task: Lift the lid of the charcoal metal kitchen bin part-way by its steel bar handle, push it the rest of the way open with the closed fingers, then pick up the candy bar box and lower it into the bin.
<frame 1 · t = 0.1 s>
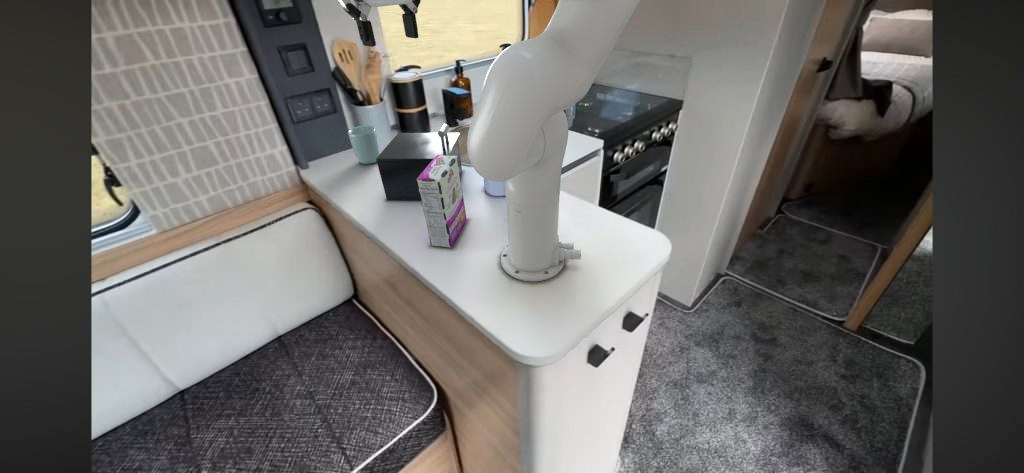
hand: (391, 41, 70), 37 cm above the worktop, tool pointing down, fingers open, 9 cm apart
bin lid: (419, 137, 94), point 14 cm above the worktop, hinge at 0.0°
cup: (370, 161, 116), on the worktop
bin: (426, 185, 102), on the worktop
candy bar box: (449, 233, 84), on the worktop
soap bottle: (500, 189, 99), on the worktop
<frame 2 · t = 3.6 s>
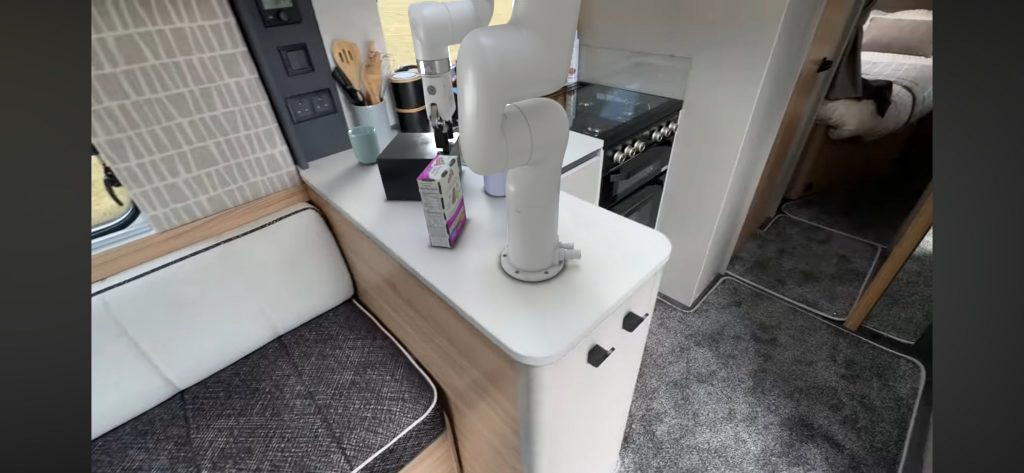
hand: (445, 142, 95), 12 cm above the worktop, tool pointing down, fingers closed on bin lid, 5 cm apart
bin lid: (419, 137, 94), point 14 cm above the worktop, hinge at 0.0°, touching gripper
everything else where it was.
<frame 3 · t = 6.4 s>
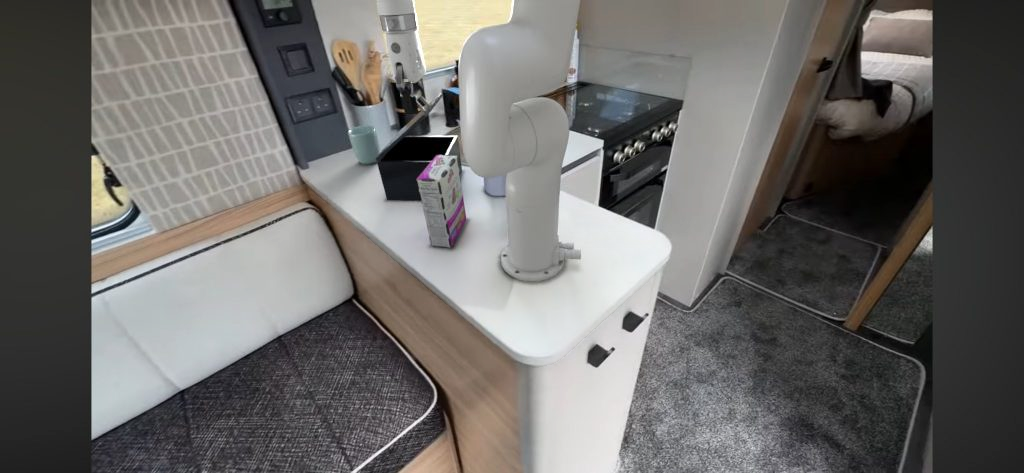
hand: (415, 109, 90), 21 cm above the worktop, tool pointing down, fingers closed on bin lid, 5 cm apart
bin lid: (403, 118, 92), point 18 cm above the worktop, hinge at 37.4°, touching gripper
everything else where it was.
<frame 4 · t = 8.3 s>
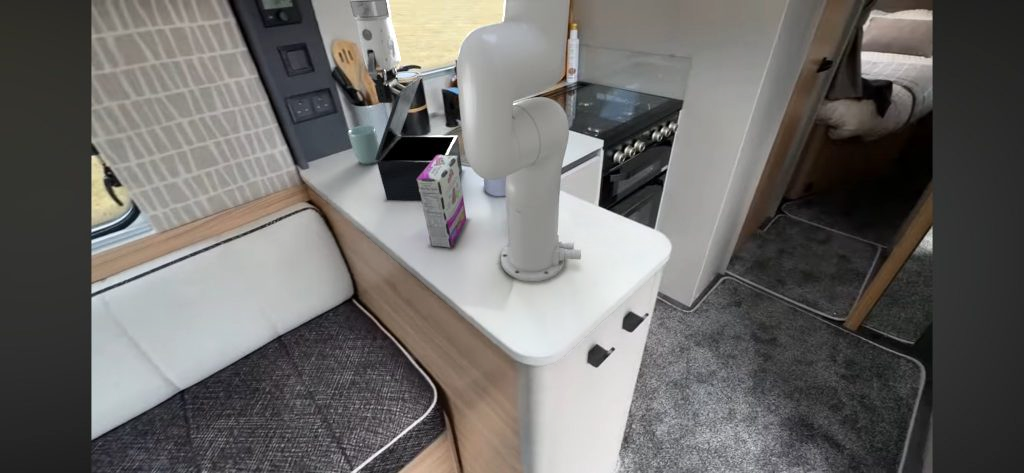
hand: (389, 97, 89), 23 cm above the worktop, tool pointing down, fingers closed on bin lid, 5 cm apart
bin lid: (389, 112, 91), point 20 cm above the worktop, hinge at 59.6°, touching gripper
everything else where it was.
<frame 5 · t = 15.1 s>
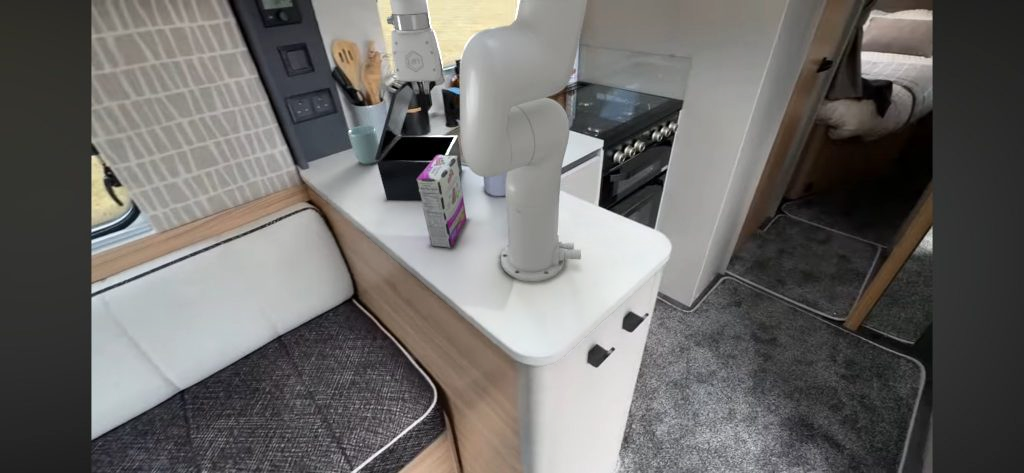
hand: (426, 109, 90), 21 cm above the worktop, tool pointing down, fingers closed
bin lid: (387, 112, 91), point 20 cm above the worktop, hinge at 62.3°, touching gripper
everything else where it was.
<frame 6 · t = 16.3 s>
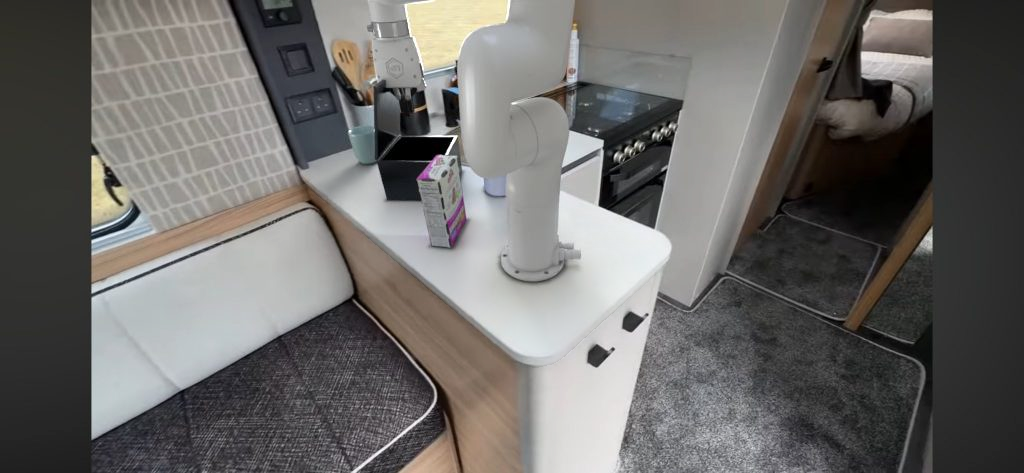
hand: (408, 115, 91), 19 cm above the worktop, tool pointing down, fingers closed
bin lid: (378, 111, 91), point 20 cm above the worktop, hinge at 76.4°
everything else where it was.
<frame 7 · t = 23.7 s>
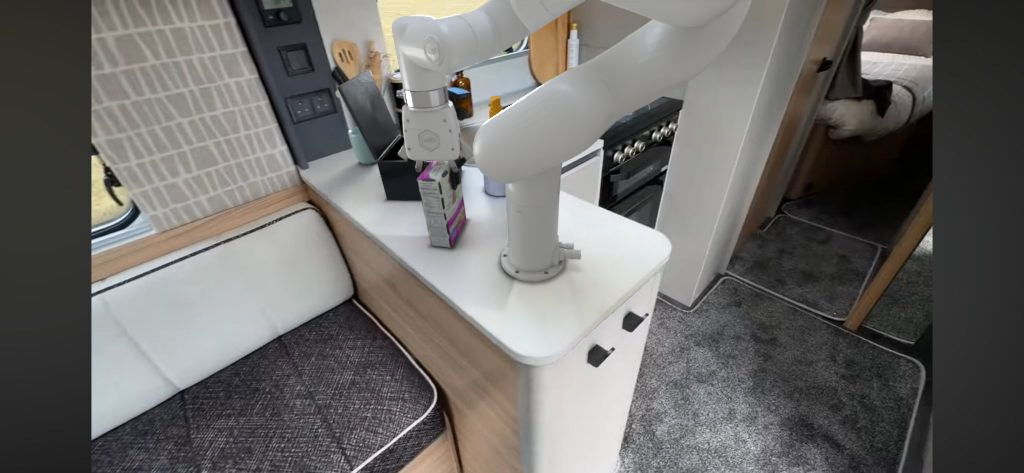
hand: (441, 186, 77), 12 cm above the worktop, tool pointing down, fingers closed on candy bar box, 5 cm apart
bin lid: (363, 115, 92), point 19 cm above the worktop, hinge at 103.6°
candy bar box: (449, 233, 84), on the worktop, touching gripper
everything else where it was.
when the fingers open (13 cm above the worktop, at t = 32.1 s): candy bar box stays where it is, resting on bin.
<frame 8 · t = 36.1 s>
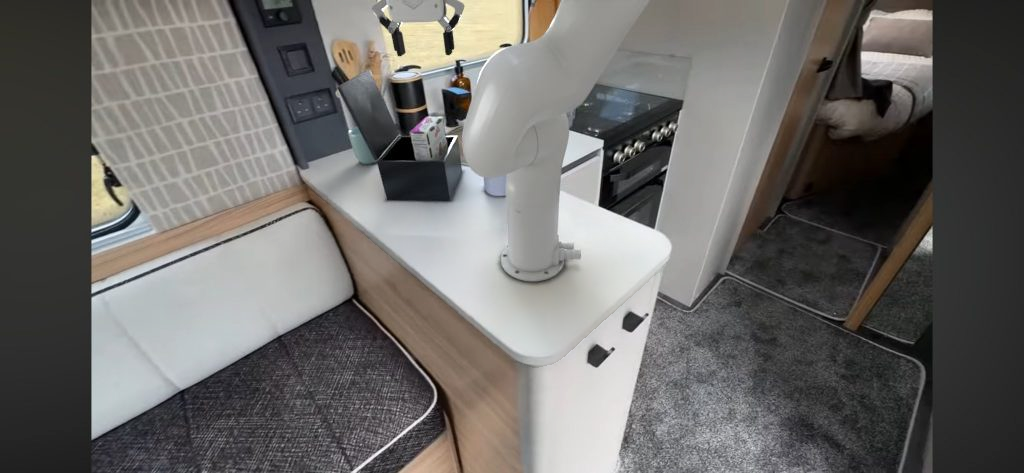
hand: (425, 54, 74), 34 cm above the worktop, tool pointing down, fingers open, 9 cm apart
candy bar box: (437, 183, 102), point 1 cm above the worktop, touching bin
everything else where it was.
at the end: bin lid at +104° (first picture: +0°); candy bar box inside the target area in the bin (3.1 cm from its centre), point 0.6 cm above the bin's base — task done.
